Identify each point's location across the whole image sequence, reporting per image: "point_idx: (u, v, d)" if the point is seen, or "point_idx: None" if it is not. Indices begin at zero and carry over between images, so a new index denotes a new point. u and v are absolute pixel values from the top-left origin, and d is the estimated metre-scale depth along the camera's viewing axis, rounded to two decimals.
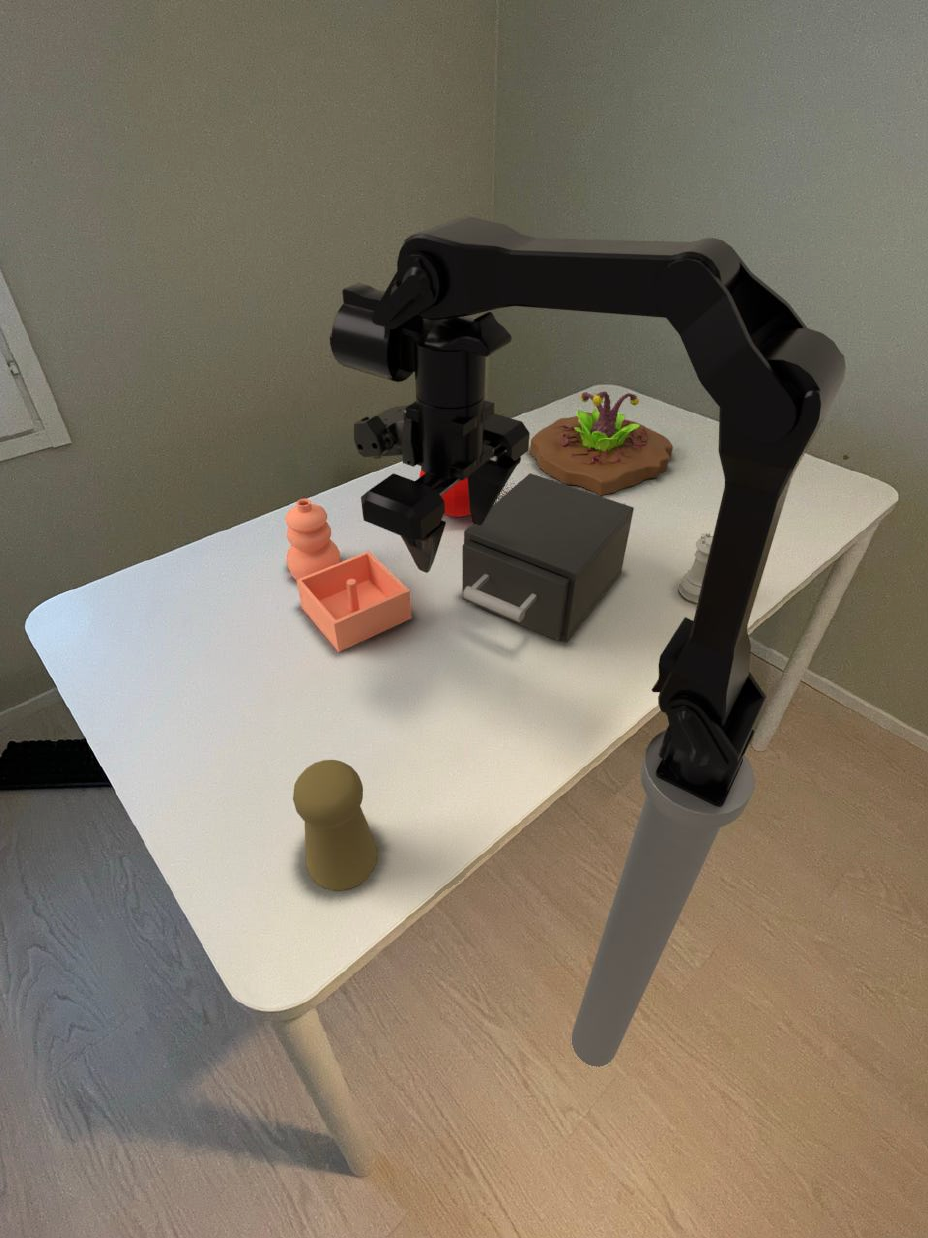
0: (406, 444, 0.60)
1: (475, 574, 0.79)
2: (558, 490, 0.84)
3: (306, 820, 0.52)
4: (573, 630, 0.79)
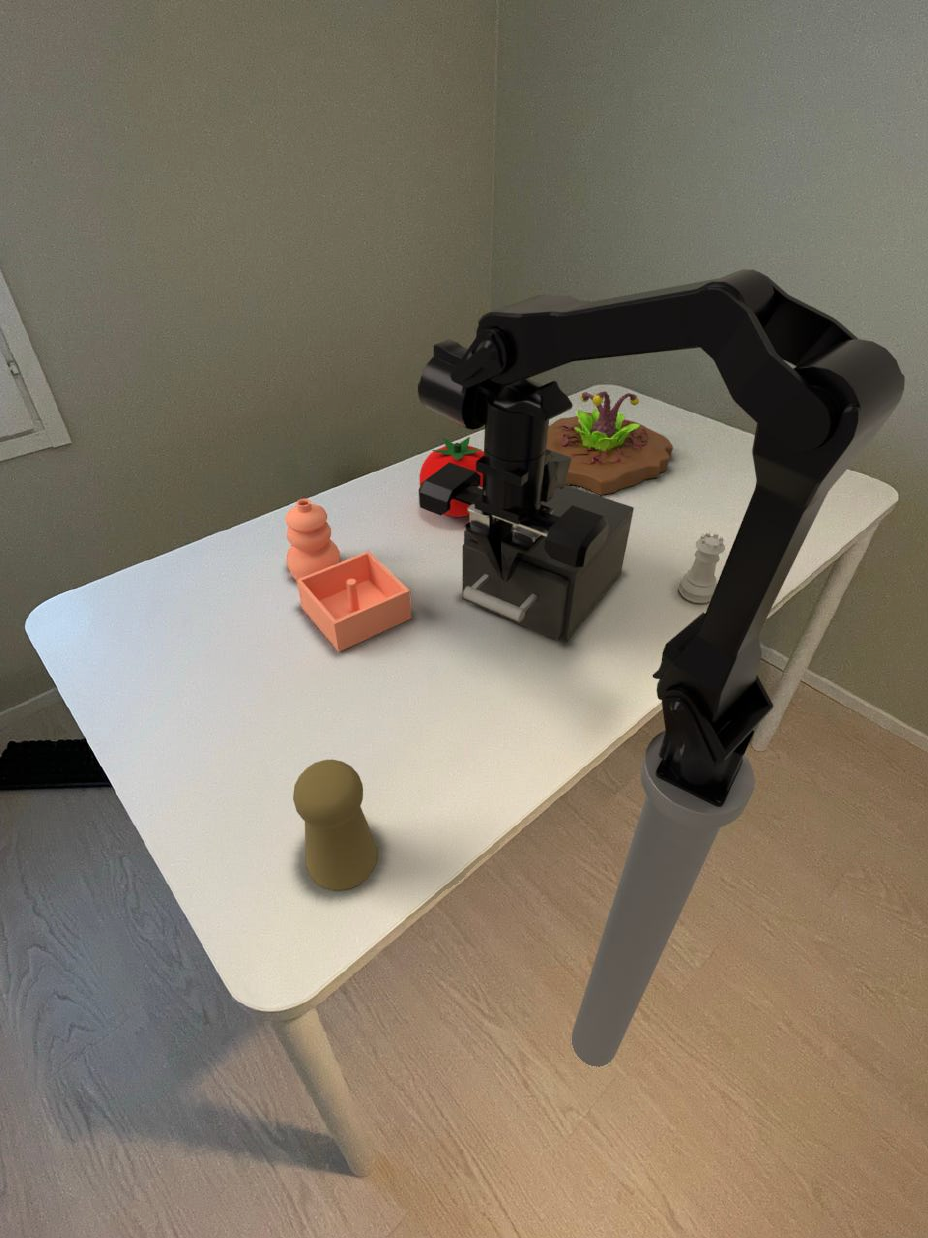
0: None
1: (475, 574, 0.79)
2: (558, 490, 0.84)
3: (306, 820, 0.52)
4: (573, 630, 0.79)
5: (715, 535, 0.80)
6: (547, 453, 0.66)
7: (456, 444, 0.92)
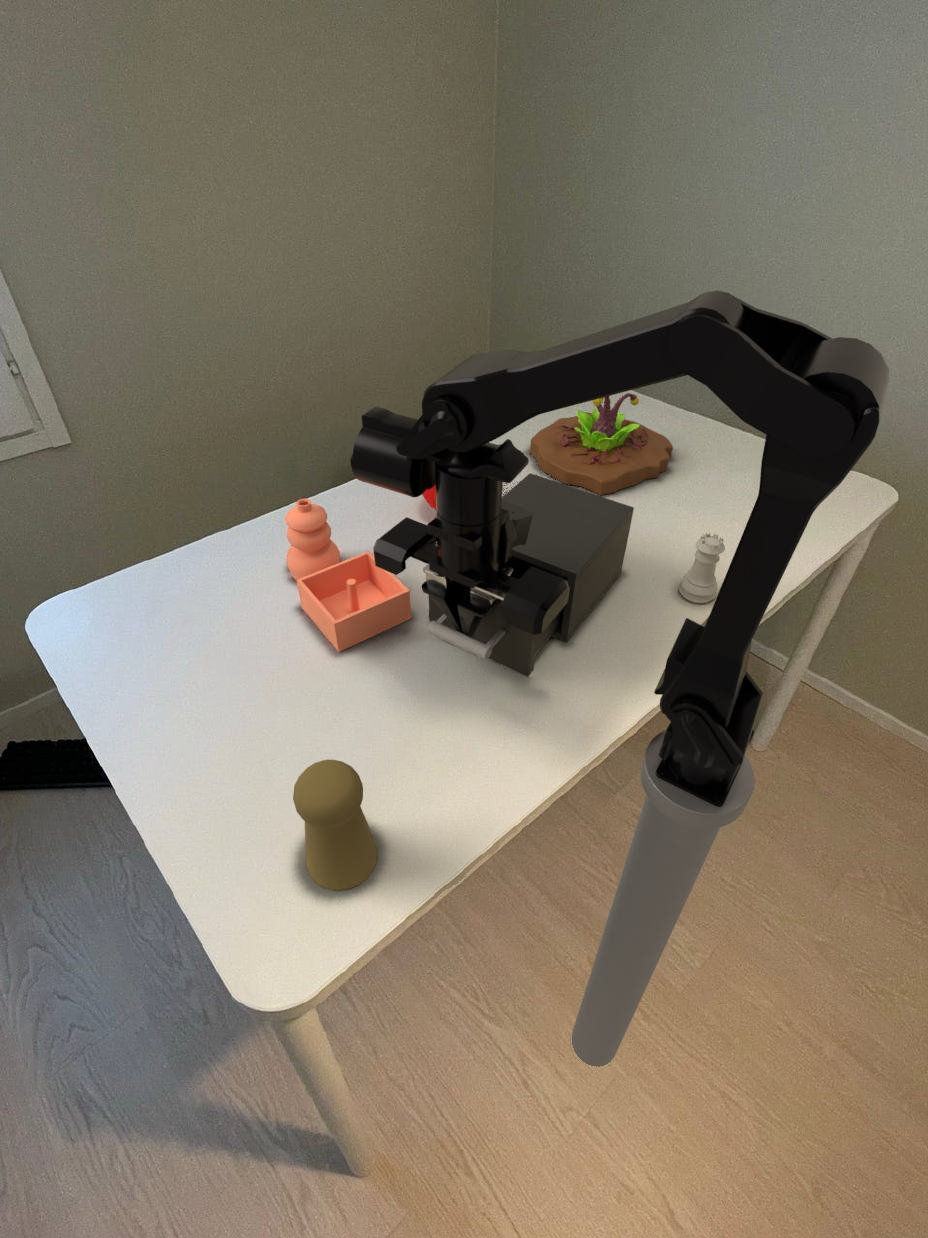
0: None
1: None
2: (558, 490, 0.84)
3: (306, 820, 0.52)
4: (573, 630, 0.79)
5: (715, 535, 0.80)
6: (503, 514, 0.63)
7: None
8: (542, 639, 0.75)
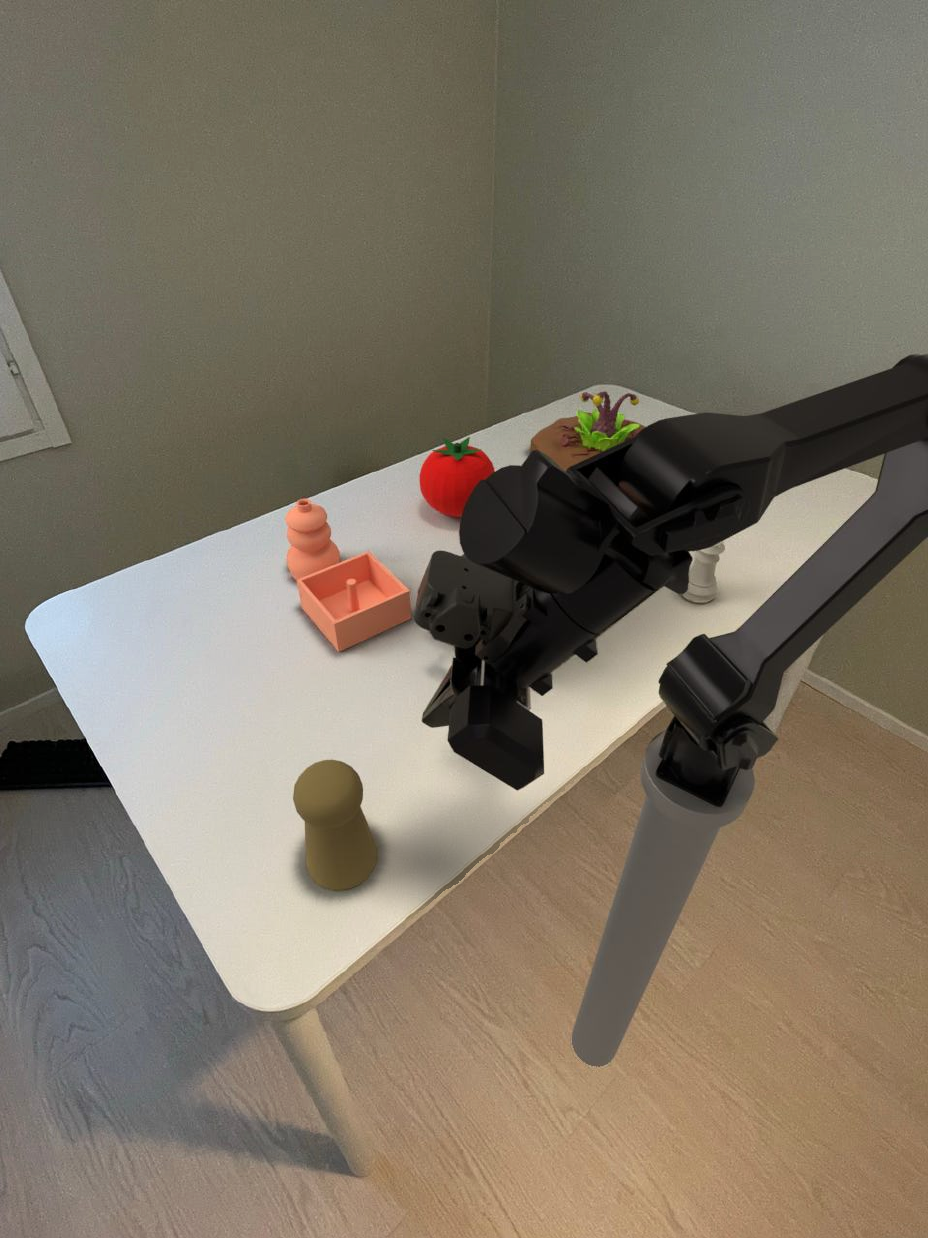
0: (501, 641, 0.44)
1: None
2: None
3: (306, 820, 0.52)
4: None
5: None
6: None
7: (456, 444, 0.92)
8: None
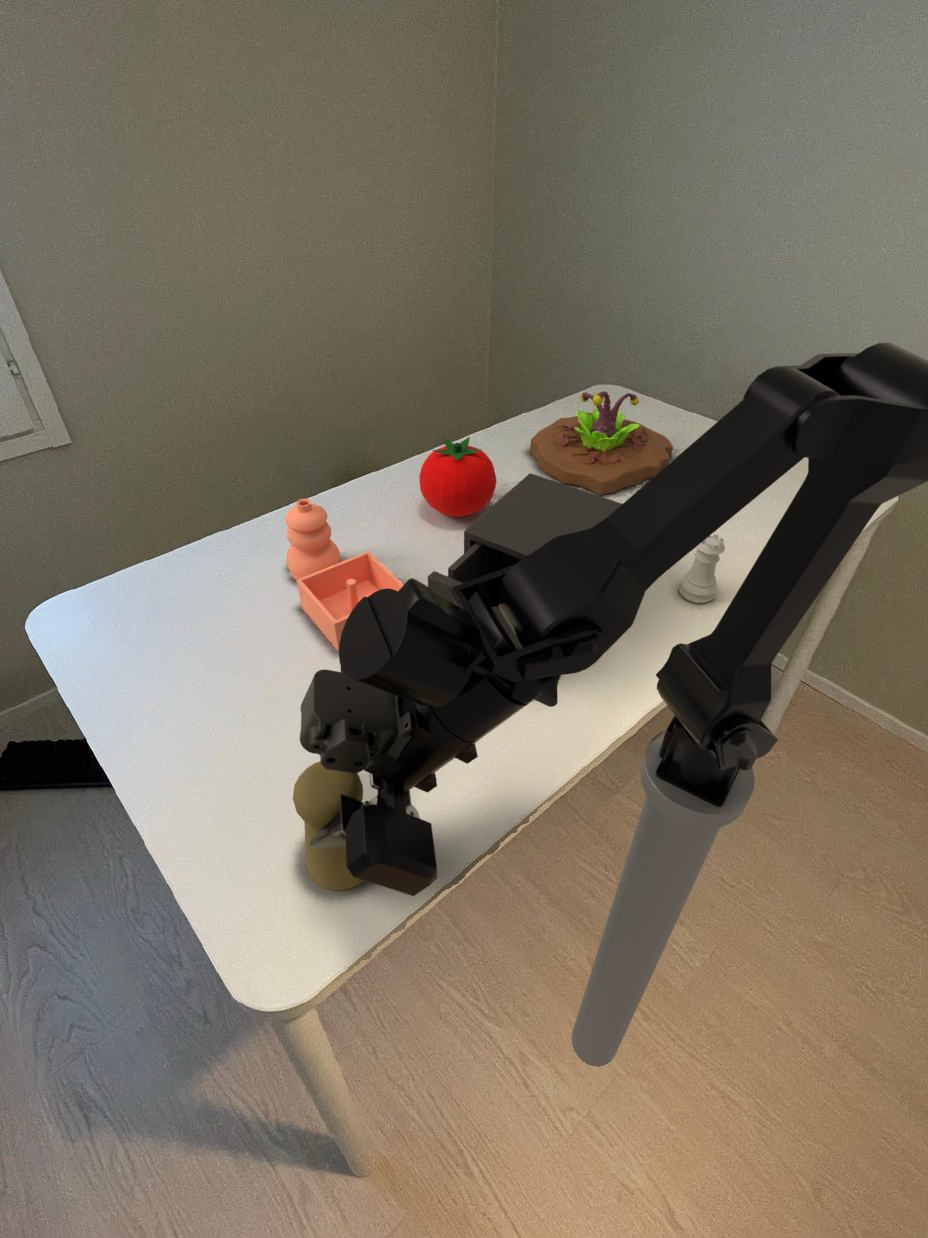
0: (388, 758, 0.47)
1: None
2: (558, 490, 0.84)
3: (306, 820, 0.52)
4: None
5: (715, 535, 0.80)
6: None
7: (456, 444, 0.92)
8: None
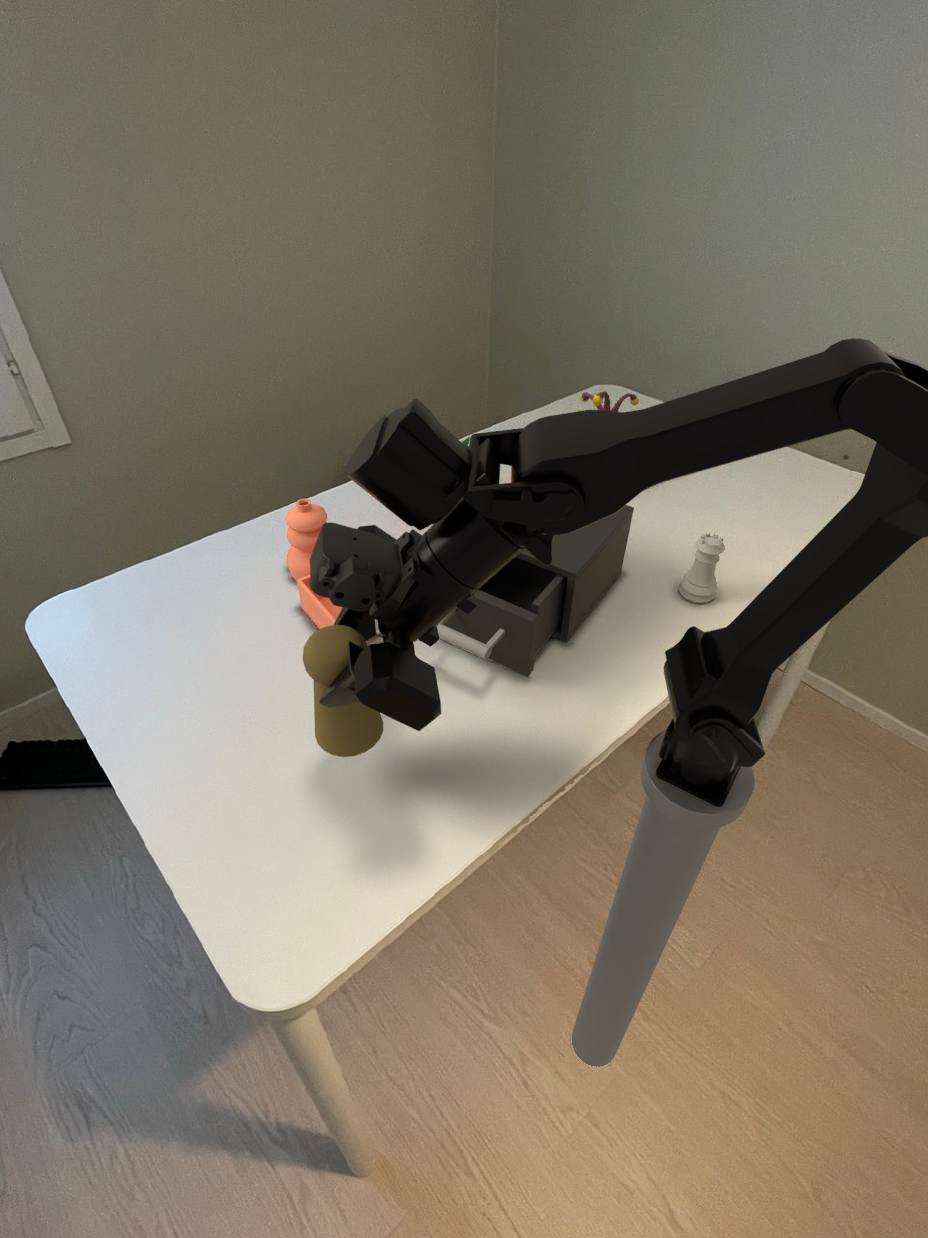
0: (393, 602, 0.50)
1: None
2: None
3: (315, 677, 0.54)
4: (573, 630, 0.79)
5: (715, 535, 0.80)
6: (419, 534, 0.52)
7: None
8: (542, 639, 0.75)
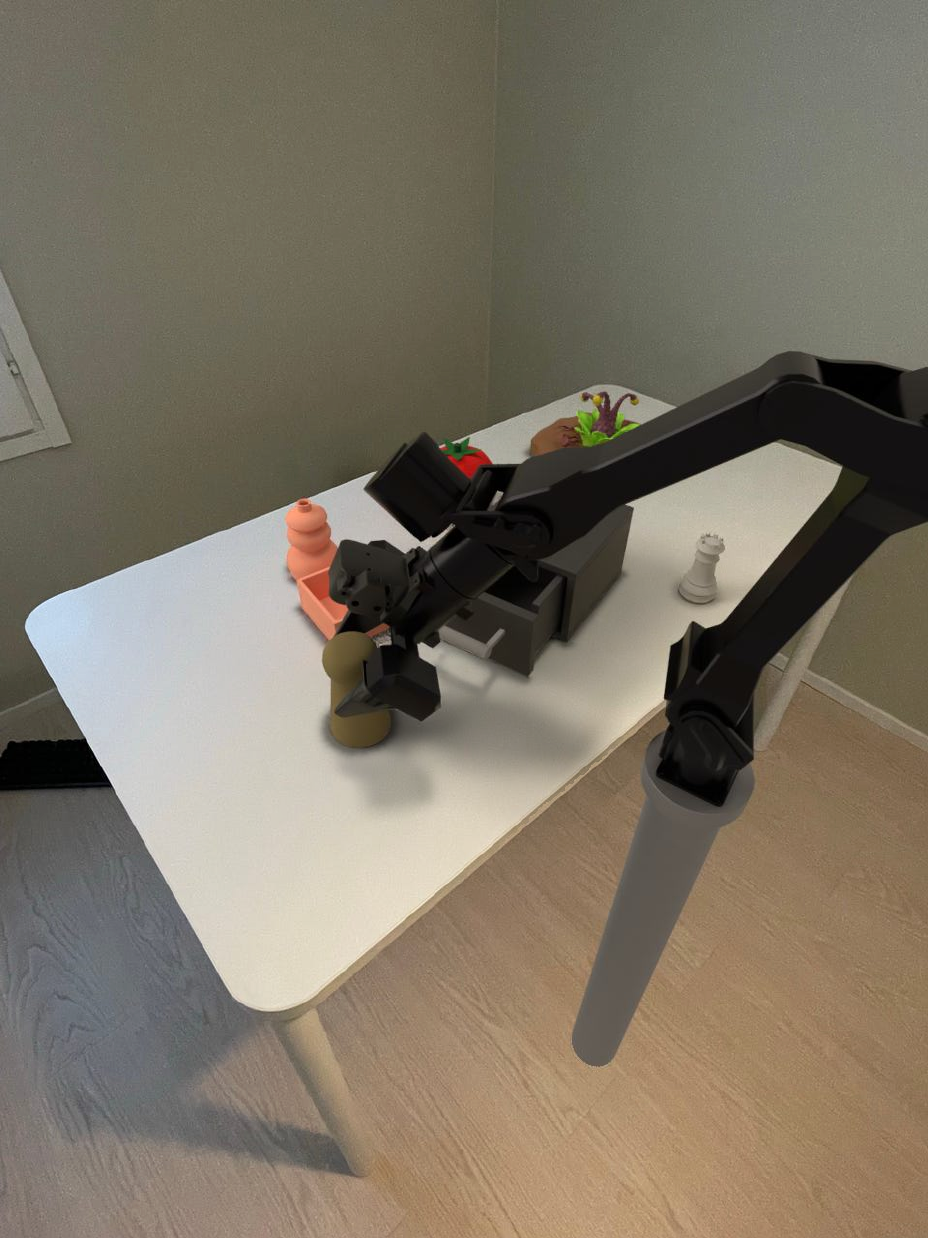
0: (401, 609, 0.57)
1: None
2: None
3: (333, 677, 0.62)
4: (573, 630, 0.79)
5: (715, 535, 0.80)
6: (424, 550, 0.60)
7: (456, 444, 0.92)
8: (542, 639, 0.75)
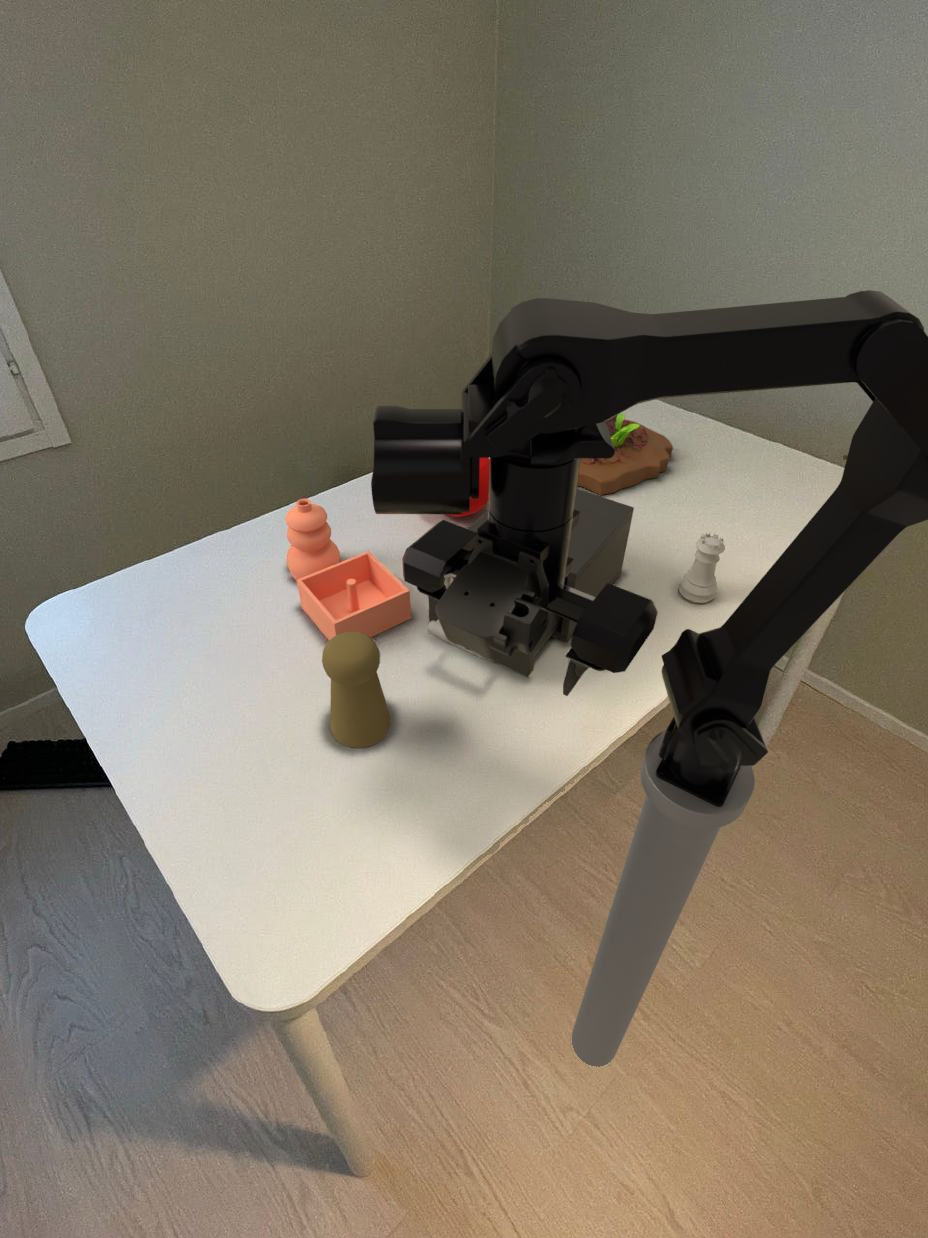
0: (544, 591, 0.47)
1: None
2: None
3: (333, 676, 0.62)
4: (573, 630, 0.79)
5: (715, 535, 0.80)
6: (484, 524, 0.47)
7: None
8: (542, 639, 0.75)
